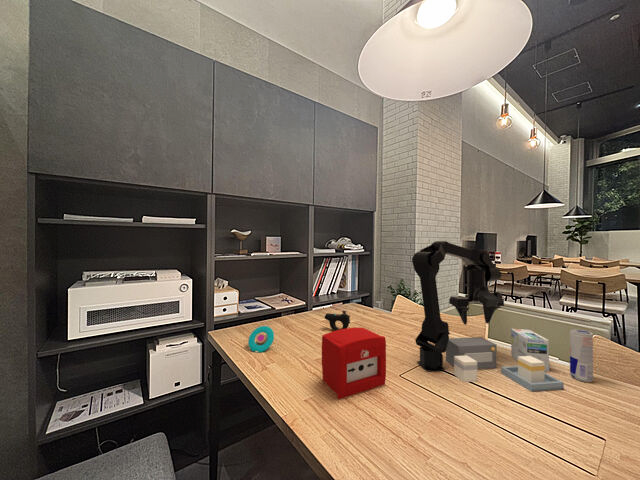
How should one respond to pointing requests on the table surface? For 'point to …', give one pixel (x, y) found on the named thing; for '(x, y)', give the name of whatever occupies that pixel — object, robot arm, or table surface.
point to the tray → (548, 383)
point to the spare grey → (465, 368)
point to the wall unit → (473, 351)
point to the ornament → (261, 339)
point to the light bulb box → (529, 346)
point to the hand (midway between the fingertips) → (476, 323)
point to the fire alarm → (353, 361)
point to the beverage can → (581, 355)
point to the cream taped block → (531, 369)
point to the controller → (338, 317)
